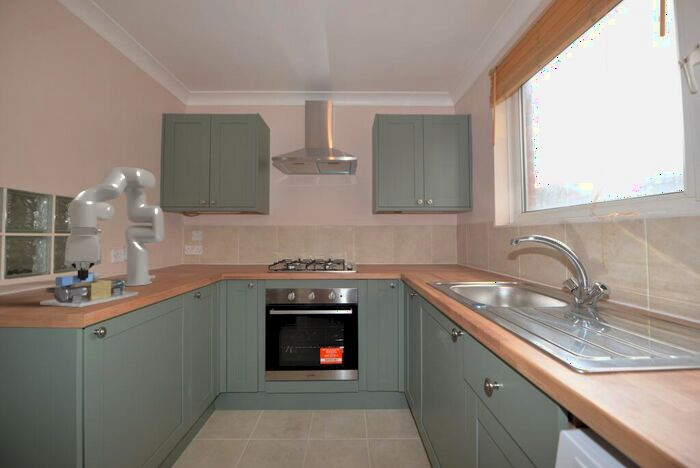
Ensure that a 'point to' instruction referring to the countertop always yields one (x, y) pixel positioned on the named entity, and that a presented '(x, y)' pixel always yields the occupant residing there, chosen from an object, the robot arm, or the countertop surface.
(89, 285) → the pipe valve
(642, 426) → the countertop surface
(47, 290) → the valve
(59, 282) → the lever
